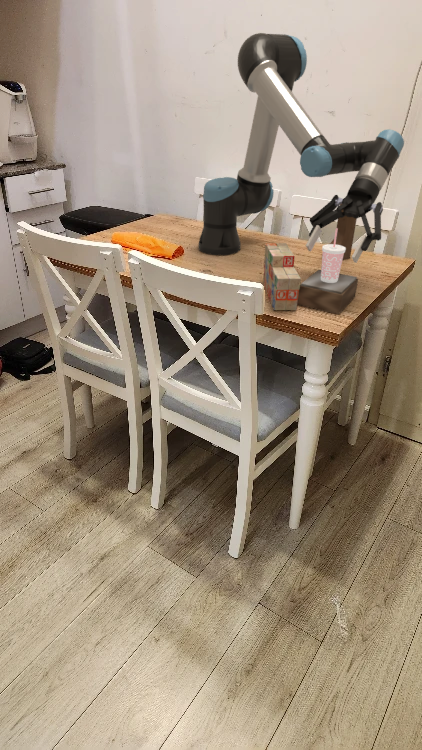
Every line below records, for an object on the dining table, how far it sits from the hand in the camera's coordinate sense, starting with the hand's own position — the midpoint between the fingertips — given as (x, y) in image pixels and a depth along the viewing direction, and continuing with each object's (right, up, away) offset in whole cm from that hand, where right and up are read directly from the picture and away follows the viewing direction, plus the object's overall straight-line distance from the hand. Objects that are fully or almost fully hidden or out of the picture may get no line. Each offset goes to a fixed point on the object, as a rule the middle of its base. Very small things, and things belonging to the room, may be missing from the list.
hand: (330, 254), depth 127 cm
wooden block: (+12, +8, +40) cm, 42 cm away
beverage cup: (+1, -6, +5) cm, 8 cm away
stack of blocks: (-12, -9, +11) cm, 19 cm away
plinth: (+1, -11, +8) cm, 14 cm away
